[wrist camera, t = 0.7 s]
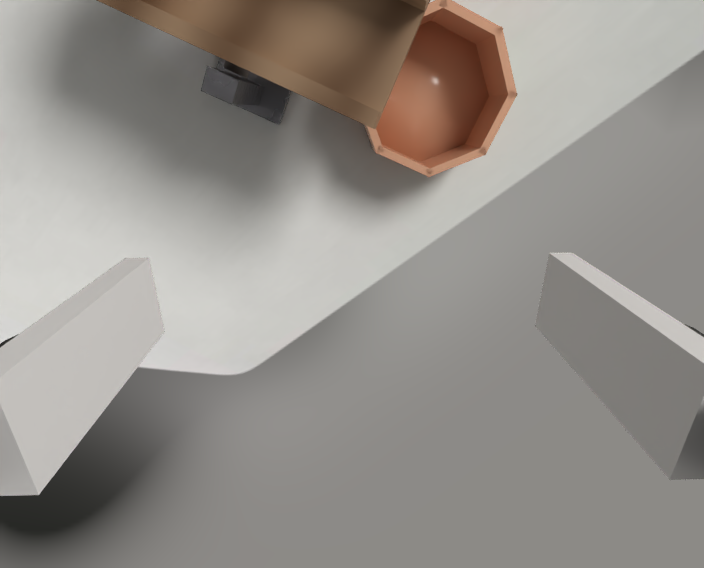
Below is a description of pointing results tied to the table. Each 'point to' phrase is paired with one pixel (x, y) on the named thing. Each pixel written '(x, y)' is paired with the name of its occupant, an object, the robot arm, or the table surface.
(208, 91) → the lever stand
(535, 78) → the table surface
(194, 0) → the lever
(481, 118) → the terracotta octagonal bowl
